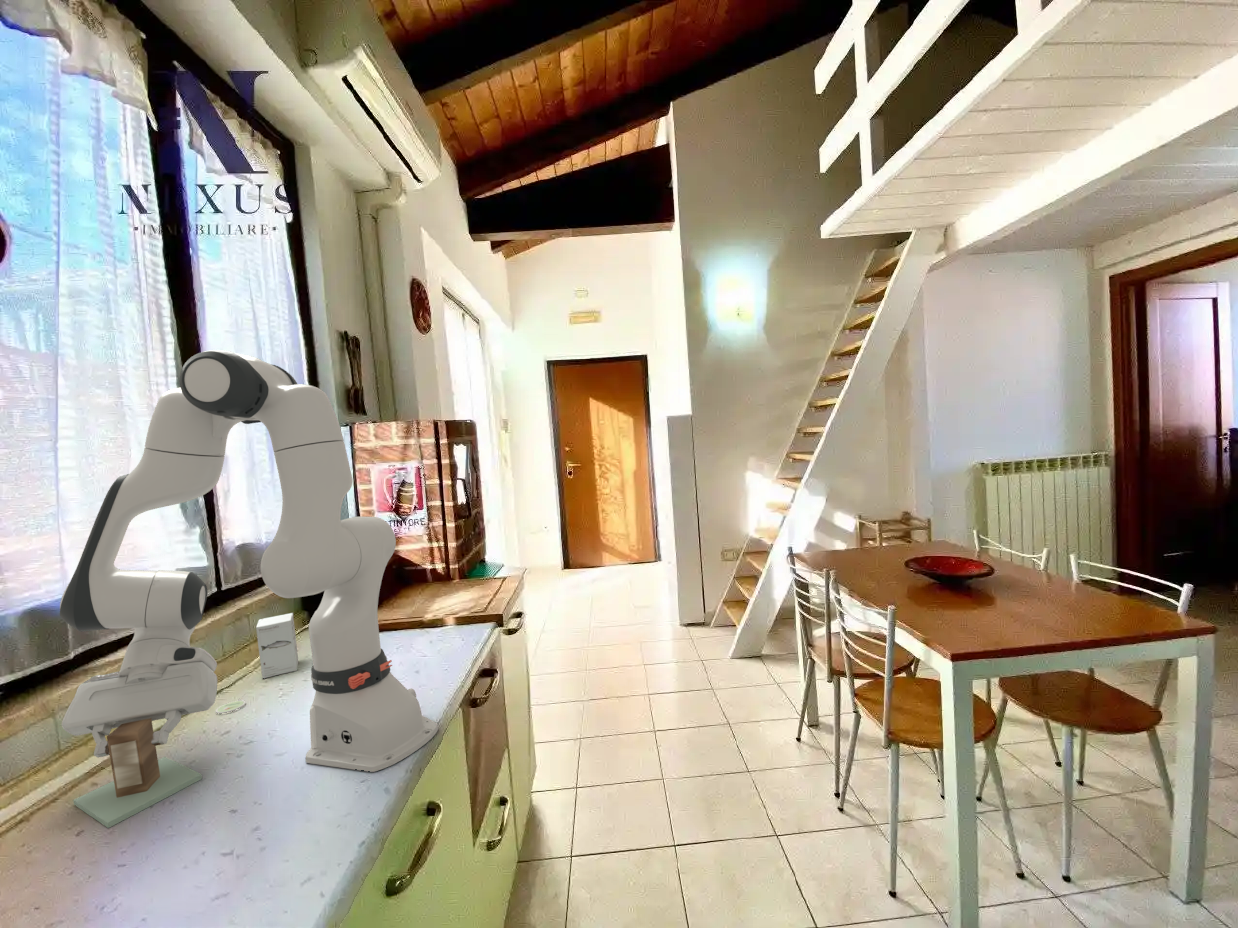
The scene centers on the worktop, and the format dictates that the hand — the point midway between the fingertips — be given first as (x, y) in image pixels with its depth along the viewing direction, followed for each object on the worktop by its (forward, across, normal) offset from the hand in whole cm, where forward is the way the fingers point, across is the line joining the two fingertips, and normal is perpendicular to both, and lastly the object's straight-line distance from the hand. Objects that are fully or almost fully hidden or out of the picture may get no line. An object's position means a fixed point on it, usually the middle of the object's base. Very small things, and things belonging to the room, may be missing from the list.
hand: (130, 749), depth 88 cm
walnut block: (+4, 0, +5) cm, 7 cm away
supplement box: (-27, +8, +37) cm, 46 cm away
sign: (-17, +4, +29) cm, 34 cm away
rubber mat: (+5, 0, +6) cm, 7 cm away
